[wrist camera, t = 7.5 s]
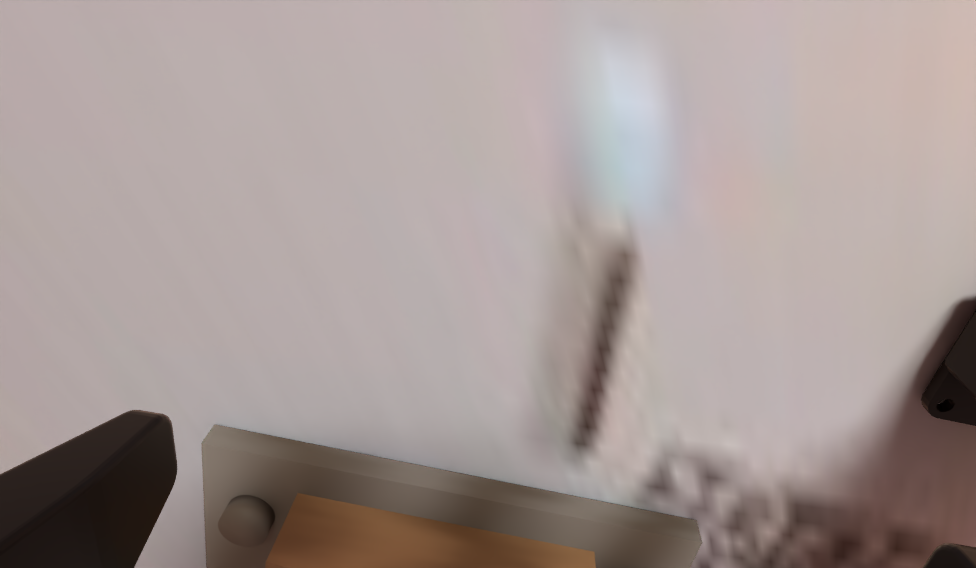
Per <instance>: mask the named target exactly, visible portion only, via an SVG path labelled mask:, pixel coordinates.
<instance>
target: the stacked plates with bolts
mask: <svg viewBox="0 0 976 568" xmlns="http://www.w3.org/2000/svg"><path fill="white" fill-rule="evenodd" d="M202 467H203V491H204V516H205V541H206V566H207V568H690V566H691V564H692V562H693V560H694V558H695V556H696V554H697V552H698V550H699V548H700V546H701V544H702V540H701V536H700V532H699V528H698V524H697V520H692V519H687V518H682V517H677V516H672V515H667V514H662V513H657V512H652V511H647V510H642V509H637V508H632V507H627V506H622V505H617V504H612V503H607V502H602V501H597V500H592V499H586V498H581V497H576V496H571V495H566V494H561V493H556V492H551V491H546V490H541V489H536V488H531V487H526V486H521V485H516V484H511V483H506V482H501V481H496V480H491V479H486V478H481V477H476V476H471V475H466V474H461V473H456V472H451V471H446V470H441V469H436V468H431V467H426V466H421V465H416V464H411V463H406V462H400V461H395V460H390V459H385V458H380V457H375V456H370V455H365V454H360V453H355V452H350V451H345V450H340V449H335V448H330V447H325V446H320V445H315V444H310V443H305V442H300V441H295V440H290V439H285V438H280V437H275V436H270V435H265V434H260V433H255V432H250V431H245V430H240V429H235V428H230V427H225V426H220V425H214V426H213V428H212V429H211V430H210V432H209V433H208V435H207V436H206V438H205V439H204V440H203V442H202Z"/></svg>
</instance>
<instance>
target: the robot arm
mask: <svg viewBox="0 0 976 568" xmlns="http://www.w3.org/2000/svg"><path fill="white" fill-rule="evenodd" d="M944 399H946V400H945V401H944V402H942V403H940V404H938V403H939V402H940V401H941V400H944ZM921 402H922V405H923V406H924V407H925V408H926V410H927V411H928V412H929V413H930V414H931V415H932V416H933V417H936V418H940V419H945V420H950V421H955V422H960V423H965V424H970V425H975V426H976V311H975V313H974V314H973V316H972V317H971V319H970V321H969V322H968V324H967V325H966V327H965V329H964V330H963V332H962V333H961V335H960V336H959V338H958V340H957V341H956V343H955V344H954V346H953V348H952V349H951V351H950V352H949V354H948V355H947V357H946V359H945V360H944V362H943V363H942V365H941V367H940V368H939V370H938V371H937V373H936V374H935V376H934V378H933V379H932V381H931V382H930V384H929V386H928V387H927V389H926V390H925V392H924V393H923V396H922V398H921ZM176 475H177V460H176V452H175V444H174V436H173V428H172V423H171V420H170V419H169V417H168V416H166V415H164V414H160V413H154V412H148V411H142V410H131V411H128V412H126V413H123V414H121V415H119V416H117V417H115V418H113V419H111V420H109V421H107V422H105V423H103V424H101V425H99V426H97V427H95V428H93V429H91V430H89V431H87V432H85V433H83V434H81V435H79V436H77V437H75V438H73V439H71V440H69V441H67V442H65V443H63V444H61V445H59V446H57V447H55V448H53V449H51V450H49V451H47V452H45V453H43V454H41V455H39V456H37V457H34V458H32V459H30V460H28V461H26V462H24V463H22V464H20V465H18V466H16V467H14V468H12V469H10V470H8V471H6V472H4V473H2V474H0V568H134V567H135V564H136V562H137V560H138V558H139V556H140V554H141V552H142V550H143V548H144V546H145V544H146V542H147V540H148V538H149V535H150V533H151V531H152V529H153V527H154V525H155V523H156V521H157V519H158V517H159V515H160V513H161V511H162V509H163V507H164V504H165V502H166V500H167V498H168V496H169V494H170V492H171V490H172V488H173V485H174V482H175V479H176ZM923 568H976V547H970V546H963V545H957V544H951V543H946V544H942V545H940V546H939V547H937V548H936V549H935V550H934V552H933V553H932V555H931V556H930V558H929V559H928V561H927V562H926V564H925V565H924V567H923Z"/></svg>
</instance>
